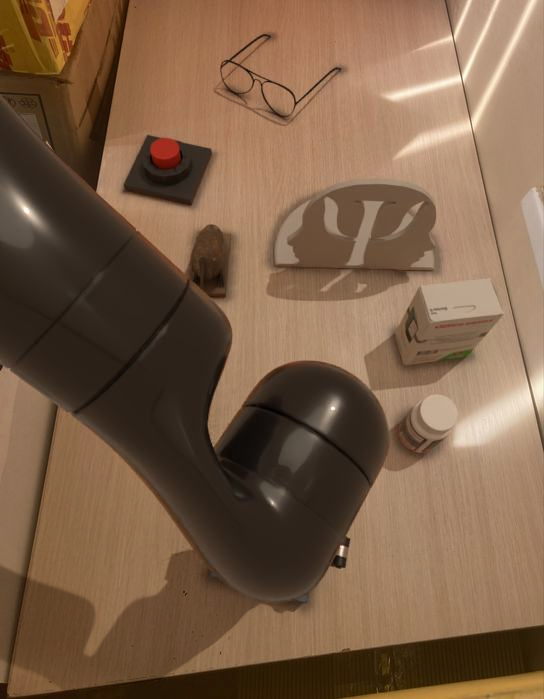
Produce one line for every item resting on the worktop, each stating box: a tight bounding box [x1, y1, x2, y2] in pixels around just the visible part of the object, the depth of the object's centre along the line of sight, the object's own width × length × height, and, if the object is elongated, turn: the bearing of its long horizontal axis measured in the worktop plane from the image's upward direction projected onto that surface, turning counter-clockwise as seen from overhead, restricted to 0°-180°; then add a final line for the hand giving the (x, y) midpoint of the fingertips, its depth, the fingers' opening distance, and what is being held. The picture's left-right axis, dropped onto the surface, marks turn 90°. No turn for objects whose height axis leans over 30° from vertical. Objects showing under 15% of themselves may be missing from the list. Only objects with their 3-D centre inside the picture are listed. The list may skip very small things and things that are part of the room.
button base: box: [123, 134, 213, 206], centre depth 78 cm, size 10×10×3 cm
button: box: [150, 137, 181, 170], centre depth 76 cm, size 4×4×2 cm
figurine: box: [190, 223, 232, 298], centre depth 68 cm, size 14×4×9 cm, turn 178°
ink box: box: [394, 277, 506, 366], centre depth 63 cm, size 9×5×12 cm, turn 98°
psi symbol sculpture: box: [273, 177, 437, 271], centre depth 68 cm, size 22×13×17 cm, turn 89°
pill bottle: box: [398, 393, 459, 454], centre depth 60 cm, size 5×5×8 cm
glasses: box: [219, 33, 342, 118], centre depth 87 cm, size 14×15×5 cm
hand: (271, 544), depth 55 cm, fingers closed
